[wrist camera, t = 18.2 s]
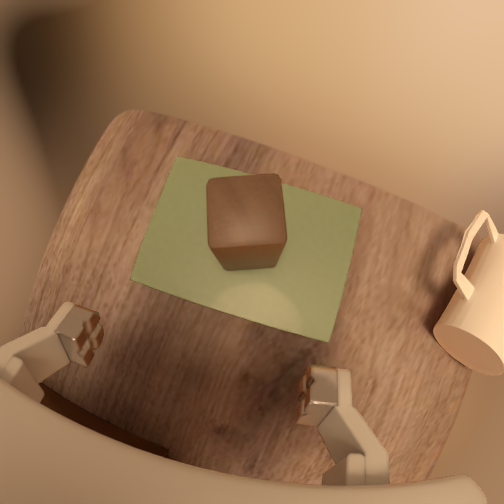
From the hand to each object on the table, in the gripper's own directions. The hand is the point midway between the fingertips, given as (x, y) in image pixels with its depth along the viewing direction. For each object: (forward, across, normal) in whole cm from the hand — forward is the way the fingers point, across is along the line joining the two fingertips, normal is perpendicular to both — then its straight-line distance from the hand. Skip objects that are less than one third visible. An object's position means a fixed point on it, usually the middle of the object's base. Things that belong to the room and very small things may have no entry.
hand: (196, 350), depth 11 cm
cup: (+8, -19, +6) cm, 21 cm away
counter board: (+15, 0, +5) cm, 16 cm away
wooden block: (+13, 0, +4) cm, 13 cm away
